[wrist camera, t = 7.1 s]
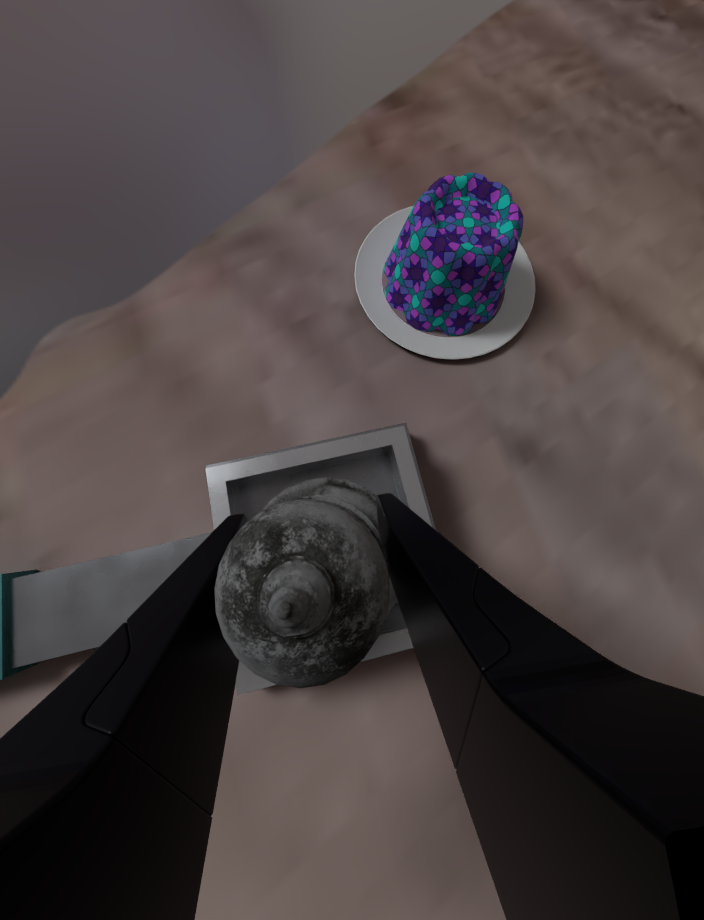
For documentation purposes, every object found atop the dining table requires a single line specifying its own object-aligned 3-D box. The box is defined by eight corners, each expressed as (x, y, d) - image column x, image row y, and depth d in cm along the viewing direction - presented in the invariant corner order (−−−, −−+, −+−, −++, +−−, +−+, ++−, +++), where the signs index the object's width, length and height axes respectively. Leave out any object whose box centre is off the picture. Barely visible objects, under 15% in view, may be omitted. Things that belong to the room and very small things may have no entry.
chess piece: (352, 467, 16) (375, 291, 4) (416, 575, 15) (671, 720, 3) (245, 528, 15) (-77, 512, 4) (304, 646, 14) (124, 1168, 3)
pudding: (540, 365, 21) (604, 312, 16) (355, 365, 21) (359, 310, 15) (517, 214, 23) (566, 126, 18) (352, 212, 23) (355, 121, 18)
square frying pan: (454, 624, 17) (482, 648, 14) (-139, 782, 15) (-282, 857, 12) (401, 430, 19) (413, 409, 16) (-123, 544, 17) (-238, 548, 14)
